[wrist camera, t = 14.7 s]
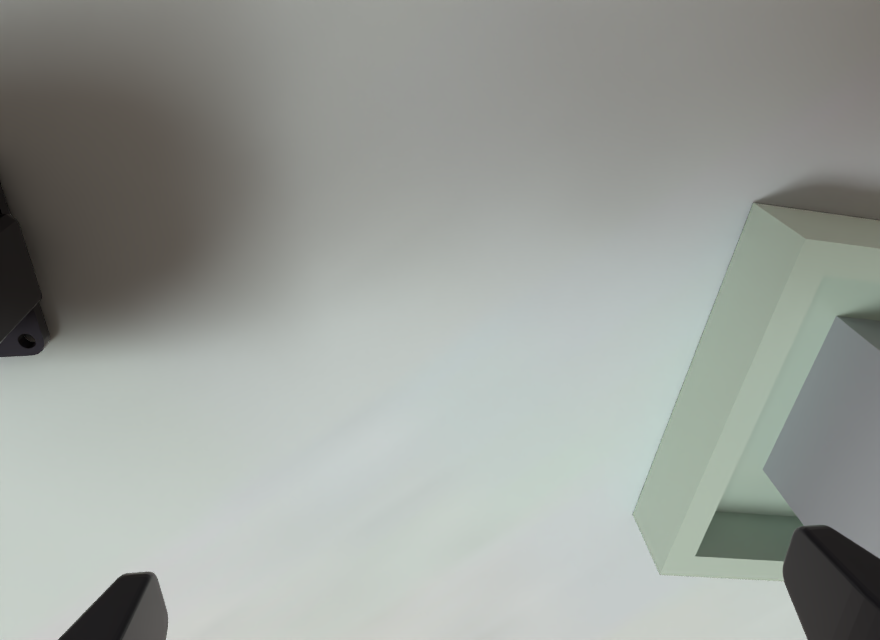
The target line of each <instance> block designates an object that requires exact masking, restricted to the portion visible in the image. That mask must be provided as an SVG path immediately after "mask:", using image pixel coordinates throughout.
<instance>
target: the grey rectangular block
mask: <svg viewBox="0 0 880 640" xmlns="http://www.w3.org/2000/svg"><path fill="white" fill-rule="evenodd" d="M763 471H764V472H765V474H766V475H767V476H768V478H769V479H770V480H771V482H772V483H773V484H774V486H775V487H776V489H777V490H778V491H779V493H780V494H781V495H782V497H783V498H784V499H785V501H786V502H787V503H788V505H789V506H790V508H791V509H792V510H793V512H794V513H795V514H796V516H797V517H798V518H799V520H800V521H801V523H802V524H803V525H804V526H808V525H827V526H829V527H831V528H833V529H835V530H836V531H838V532H839V533H841V534H842V535H844V536H845V537H847V538H849V539H850V540H852V541H853V542H855V543H856V544H858V545H859V546H861V547H863V548H864V549H866V550H867V551H869V552H870V553H872V554H873V555H875V556H877V557H878V558H880V321H877V320H868V319H859V318H851V317H842V316H836V317H835V319H834V321H833V324H832V326H831V328H830V330H829V332H828V334H827V336H826V338H825V340H824V342H823V344H822V347H821V349H820V351H819V353H818V355H817V357H816V359H815V361H814V363H813V365H812V367H811V370H810V372H809V374H808V376H807V378H806V380H805V382H804V384H803V386H802V388H801V390H800V392H799V395H798V397H797V399H796V401H795V403H794V405H793V407H792V409H791V411H790V413H789V415H788V418H787V420H786V422H785V424H784V426H783V428H782V430H781V432H780V434H779V436H778V438H777V441H776V443H775V445H774V447H773V449H772V451H771V453H770V455H769V457H768V459H767V461H766V463H765V466H764V468H763Z"/></svg>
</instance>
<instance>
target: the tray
mask: <svg viewBox="0 0 880 640" xmlns="http://www.w3.org/2000/svg"><path fill="white" fill-rule="evenodd" d="M836 316H842V317H851V318H859V319H868V320H877V321H880V220H873V219H866V218H858V217H851V216H844V215H837V214H830V213H823V212H816V211H808V210H801V209H794V208H787V207H780V206H773V205H765V204H758V203H753V205H752V207H751V210H750V212H749V215H748V218H747V220H746V223H745V225H744V228H743V231H742V233H741V236H740V238H739V241H738V243H737V246H736V249H735V251H734V254H733V256H732V259H731V262H730V264H729V267H728V269H727V272H726V275H725V277H724V280H723V282H722V285H721V287H720V290H719V293H718V295H717V298H716V300H715V303H714V306H713V308H712V311H711V313H710V316H709V319H708V321H707V324H706V326H705V329H704V331H703V334H702V337H701V339H700V342H699V344H698V347H697V350H696V352H695V355H694V357H693V360H692V362H691V365H690V368H689V370H688V373H687V375H686V378H685V381H684V383H683V386H682V388H681V391H680V394H679V396H678V399H677V401H676V404H675V406H674V409H673V412H672V414H671V417H670V419H669V422H668V425H667V427H666V430H665V432H664V435H663V437H662V440H661V443H660V445H659V448H658V450H657V453H656V456H655V458H654V461H653V463H652V466H651V469H650V471H649V474H648V476H647V479H646V481H645V484H644V487H643V489H642V492H641V494H640V497H639V500H638V502H637V505H636V507H635V510H634V512H633V516H634V519H635V521H636V523H637V525H638V527H639V530H640V532H641V534H642V536H643V539H644V541H645V543H646V545H647V547H648V550H649V552H650V554H651V556H652V559H653V561H654V563H655V565H656V567H657V570H658V572H659V574H660V575H672V576H691V577H710V578H729V579H748V580H767V581H784V579H783V572H782V571H783V563H784V560H785V557H786V554H787V550H788V547H789V544H790V541H791V538H792V535H793V532H794V530H795V529H796V528H798V527H800V526H804V525H803V524H802V523H801V521H800V520H799V518H798V517H797V516H796V514H795V513H794V512H793V510H792V509H791V508H790V506H789V505H788V503H787V502H786V501H785V499H784V498H783V497H782V495H781V494H780V493H779V491H778V490H777V489H776V487H775V486H774V484H773V483H772V482H771V480H770V479H769V478H768V476H767V475H766V474H765V472H764V471H763V468H764V466H765V463H766V461H767V459H768V457H769V455H770V453H771V451H772V449H773V447H774V445H775V443H776V441H777V438H778V436H779V434H780V432H781V430H782V428H783V426H784V424H785V422H786V420H787V418H788V415H789V413H790V411H791V409H792V407H793V405H794V403H795V401H796V399H797V397H798V395H799V392H800V390H801V388H802V386H803V384H804V382H805V380H806V378H807V376H808V374H809V372H810V370H811V367H812V365H813V363H814V361H815V359H816V357H817V355H818V353H819V351H820V349H821V347H822V344H823V342H824V340H825V338H826V336H827V334H828V332H829V330H830V328H831V326H832V324H833V321H834V319H835V317H836Z"/></svg>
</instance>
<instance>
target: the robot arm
mask: <svg viewBox="0 0 880 640" xmlns="http://www.w3.org/2000/svg"><path fill="white" fill-rule="evenodd" d="M41 298H42V294H41V291H40V288H39V285H38V282H37V279H36V275H35V272H34V269H33V266H32V263H31V260H30V257H29V254H28V250H27V247H26V244H25V241H24V238H23V235H22V232H21V229H20V226H19V223H18V221H17V220H16V219H15V218H14V217H13V216H12V215H10V212H9V209H8V205H7V202H6V199H5V196H4V193H3V190H2V187H1V184H0V357H9V356H29V355H35V354H38V353H40V352H41V351H42V350H43V349H44V348H45V347H46V345H47V344H48V342H49V340H50V337H49V332H48V329H47V326H46V323H45V319H44V316H43V313H42V310H41V307H40V304H39V301H40V299H41ZM24 334H28V335H30V336H32V337H33V338H34V339H35V341H36V342H31V341H29V340H27V339H26V338H25V336H24ZM782 572H783V579H784V582H785V585H786V588H787V590H788V593H789V595H790V598H791V600H792V602H793V605H794V607H795V610H796V612H797V615H798V617H799V620H800V622H801V624H802V627H803V629H804V632H805V634H806V637H807V639H808V640H880V558H878V557H877V556H875V555H873V554H872V553H870V552H869V551H867V550H866V549H864V548H863V547H861V546H859V545H858V544H856V543H855V542H853V541H852V540H850V539H849V538H847V537H845V536H844V535H842V534H841V533H839V532H838V531H836V530H835V529H833V528H831V527H829V526H827V525H808V526H800V527H798V528H796V529H795V530H794V532H793V535H792V538H791V541H790V544H789V547H788V550H787V554H786V557H785V560H784V563H783V571H782ZM167 629H168V613H167V609H166V606H165V602H164V599H163V595H162V592H161V589H160V585H159V582H158V579H157V577H156V575H155V574H154V573H153V572H138V573H126V574H123V575H122V576H120V577H119V578H118V579H117V580H116V581H115V582H114V583H113V584H112V585H111V586H110V587H109V588H108V589H107V590H106V591H105V592H104V593H103V594H102V595H101V596H100V597H99V598H98V599H97V600H96V601H95V602H94V603H93V604H92V605H91V606H90V607H89V608H88V609H87V610H86V611H85V612H84V613H83V615H82V616H81V617H80V618H79V619H78V620H77V621H76V622H75V623H74V624H73V625H72V626H71V627H70V628H69V629H68V630H67V631H66V632H65V633H64V634H63V635H62V636H61V637H60V638H59V639H58V640H166V635H167Z"/></svg>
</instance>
